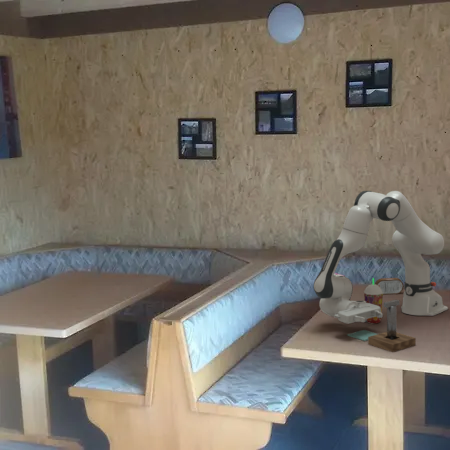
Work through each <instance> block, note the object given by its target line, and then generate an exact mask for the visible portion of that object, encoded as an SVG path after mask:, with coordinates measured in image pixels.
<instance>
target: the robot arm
mask: <svg viewBox="0 0 450 450" xmlns="http://www.w3.org/2000/svg"><path fill="white" fill-rule="evenodd" d="M374 219H377V220H381V221H383V222H391V223H392V225H393V226H394V228H395V229H396V230H395V231H394V233H393V234H392V235H391V236H392V237H391V242H392V243H391V244H392V246H393V247H394V248H395V249H396V250H397V252H398V253H399V255H400V256H401V258H402V261H403V264H404V271H405V272H404V275H405V276H404V277H405V280H404V282H403V284H404V288H403V290H404V292H403V296H402V297H403V298H402V305H401V306H400V307H401V308H400V309H401V313H404V314H406V315H409V316H430V317H431V316H432V317H434V316H437V315H438V314H441V313H442V312H445V311H447V310H448V309H449V307H448V306H447V305H444V304H443V297H442V295H440V294H439V293H438V292H436V291H435V290H434V289H433V287H436V286H437V283H436V282H435V281H431V268H430V264H429V263H428V262H427V261H426V260H424V258H423V256H422V255H426V256H427V255H429V256H430V255H438V254H440V253H441V252H442V251H443V249H444V247H445V239H444V236H443V235H442V234H441V233H439V232H438V231H435V230H434V229H432V228H431V227H429V225H427V224H426V223H425V222H424V221H422V220H421V218H420V217H419V216H418V214H417V213H416V211H415V209H414V208H413V206H412V205H411V203H410V201H409V200H408V198H407V197H406V196H405V195H404V194H403V193H402V191H399V190H391V191H389V192H387V193H386V194H385V193H384V194H383V193H380V192H375V191H372V190H362V191H360V192H359V193H358V194H357V196H356V198H355V200H354V204H353V206H351V207H350V209H349V210H348V213H347V215H346V217H345V218H344V223H343V225H342V226H343V227H342V228H341V231H340V234H339V235H338V237H337V239H336V240H334V241H333V242H332V244H331V246H330V248H329V250H328V252H327V254H326V256H325V259H324V261H323V264H322V266H321V269H320V271H319V272H318V275H317V276H316V278H315V279H314V282H313V292H314V293H315V294H316V296H317V297H318V298H320V299H319V308H320V310H321V311H322V312H323V313H324V314H326V315H327V316H329V317H331V318H332V317H333V318H336V319H337V320H338V322H339V321H340V322H341V323H344V324H352V323H357V322H359V323H360V322H361V323H365V322H367V319H368V318H372V317H376V316H377V317H378V318H381V319H382V318H383V317H384V316H383V315H384V314H383V312H382V313H381V308H380V307H379V306H377V305H374V304H370V303H366V301H365V300H351V299H352V295H353V290H354V286H353V283H352V281H351V280H350V278H348V277H347V276H345V277H339V276H333V275H334V273H336V271H337V268H338V265H339V264H340V261H341V259H342V258H343V257H345V256H346V255H348V254H350V253H354V252H357V251H359V250H360V249H362V248H363V247H364V246H365V244H366V241H367V238H368V235H369V231H370V225H371V222H372V221H373V220H374ZM350 300H351V301H350Z"/></svg>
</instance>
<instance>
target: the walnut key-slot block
mask: <svg viewBox="0 0 450 450" xmlns="http://www.w3.org/2000/svg"><path fill="white" fill-rule="evenodd" d="M376 334H377V335H373V336H370V337H368V340H367V341H368V345H370V346H374V347H376V348H379V349H382V350H385V351H388V352H392V353H395V352H398V351H401V350H405V349H408V348H412V347H414V346H416V341H417V340H416V339H417V338H416V337H413V336H410V335H407V334H404V333H400V332H398V331H396V339H394V340H391V339H388V338H387V331H384V332H381V333H376Z"/></svg>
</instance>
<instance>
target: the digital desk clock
mask: <svg viewBox="0 0 450 450" xmlns="http://www.w3.org/2000/svg"><path fill="white" fill-rule="evenodd" d="M374 284H376V285H378V286H379V287H380V288H381V290H382V291H383V296H384V295H398V294H401V292H403V290H404V282H403V281H402V280H401V279H400V278H399V277H384V278H383V277H382V278H379V279H377V280H376V281H374Z"/></svg>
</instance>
